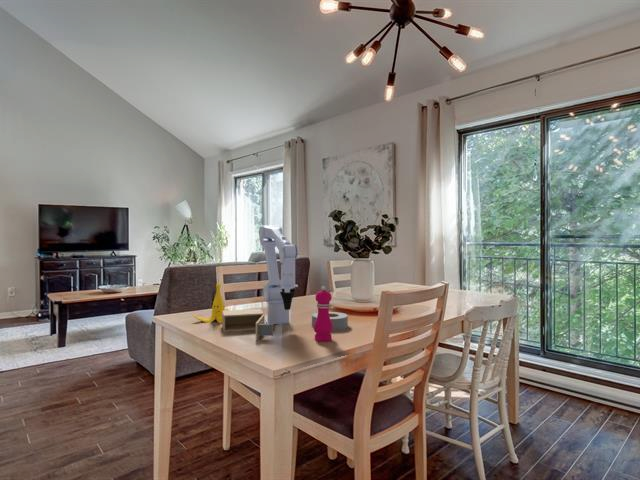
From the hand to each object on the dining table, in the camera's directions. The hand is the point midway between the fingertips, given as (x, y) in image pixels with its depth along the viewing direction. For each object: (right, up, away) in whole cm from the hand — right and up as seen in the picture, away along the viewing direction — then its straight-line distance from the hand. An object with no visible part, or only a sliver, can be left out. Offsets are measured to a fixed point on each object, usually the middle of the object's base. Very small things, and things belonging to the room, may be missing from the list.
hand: (287, 307), depth 158 cm
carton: (-19, -9, +5) cm, 22 cm away
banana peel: (-33, -9, +20) cm, 39 cm away
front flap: (-7, -9, -6) cm, 13 cm away
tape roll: (+17, -10, +9) cm, 22 cm away
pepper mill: (+14, -10, -12) cm, 21 cm away
